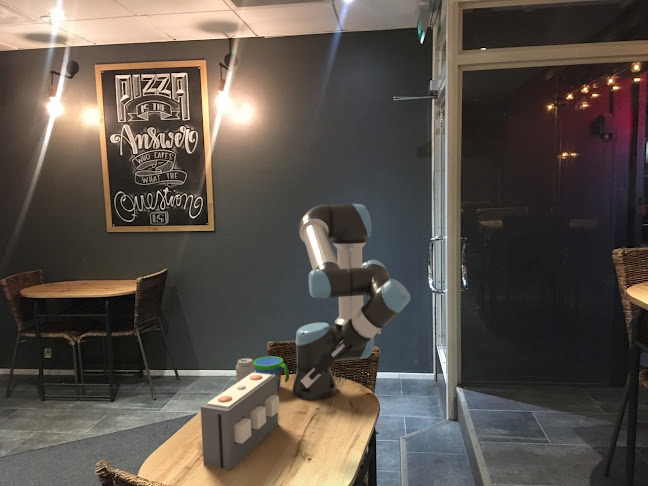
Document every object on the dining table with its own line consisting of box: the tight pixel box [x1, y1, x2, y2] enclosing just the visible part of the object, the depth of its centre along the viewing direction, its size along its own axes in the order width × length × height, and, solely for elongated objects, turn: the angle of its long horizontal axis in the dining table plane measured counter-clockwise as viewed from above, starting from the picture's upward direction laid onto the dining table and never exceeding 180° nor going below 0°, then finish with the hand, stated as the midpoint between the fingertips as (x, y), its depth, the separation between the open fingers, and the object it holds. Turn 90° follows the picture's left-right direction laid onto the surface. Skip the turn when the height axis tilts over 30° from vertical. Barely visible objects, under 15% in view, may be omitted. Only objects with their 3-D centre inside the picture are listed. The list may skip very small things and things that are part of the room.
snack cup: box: [253, 355, 290, 390], centre depth 171 cm, size 16×10×10 cm
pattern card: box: [206, 373, 272, 408], centre depth 132 cm, size 6×23×1 cm, turn 158°
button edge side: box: [234, 418, 251, 444], centre depth 123 cm, size 3×4×4 cm, turn 158°
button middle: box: [250, 406, 266, 429], centre depth 131 cm, size 3×4×4 cm, turn 158°
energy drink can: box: [235, 357, 255, 383], centre depth 158 cm, size 6×6×15 cm
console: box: [200, 372, 279, 471], centre depth 133 cm, size 8×26×15 cm, turn 158°
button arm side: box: [264, 394, 280, 417], centre depth 138 cm, size 3×4×4 cm, turn 158°
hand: (304, 383), depth 133 cm, fingers closed
